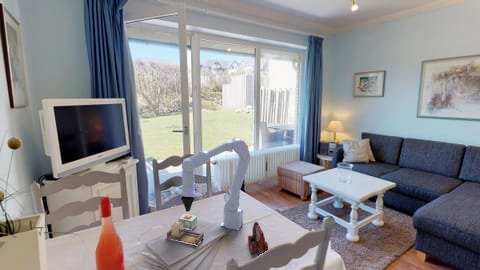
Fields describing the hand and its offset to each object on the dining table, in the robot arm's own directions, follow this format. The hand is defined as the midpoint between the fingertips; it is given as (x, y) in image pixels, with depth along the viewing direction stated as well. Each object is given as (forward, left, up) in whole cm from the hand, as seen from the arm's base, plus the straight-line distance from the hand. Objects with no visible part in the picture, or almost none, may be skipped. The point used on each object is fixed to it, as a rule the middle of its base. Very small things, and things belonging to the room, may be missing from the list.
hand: (188, 210), depth 111 cm
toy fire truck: (-35, +3, -9) cm, 37 cm away
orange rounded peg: (0, 0, -6) cm, 6 cm away
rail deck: (-4, +9, -9) cm, 13 cm away
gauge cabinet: (0, 0, -9) cm, 9 cm away
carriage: (0, +10, -7) cm, 12 cm away
